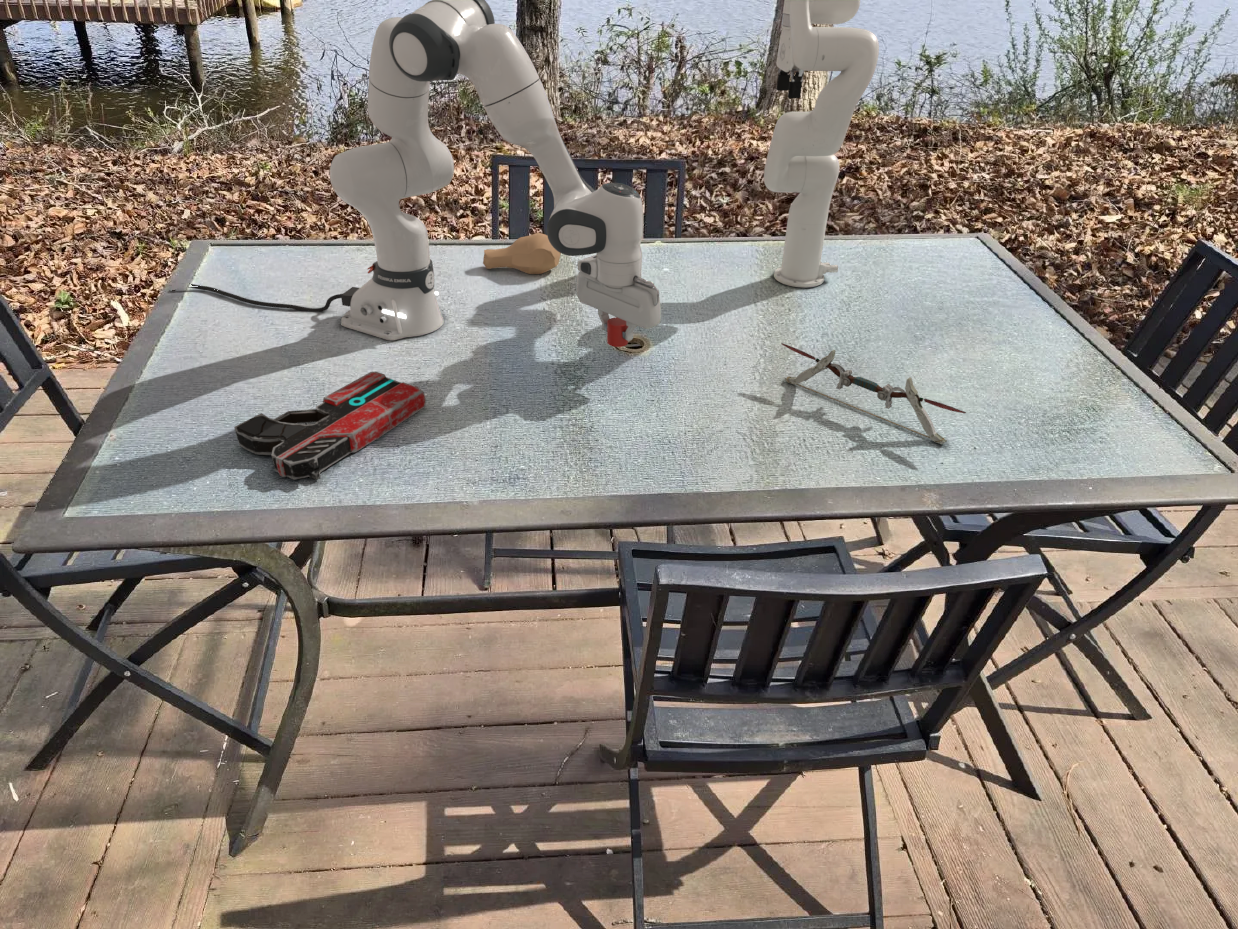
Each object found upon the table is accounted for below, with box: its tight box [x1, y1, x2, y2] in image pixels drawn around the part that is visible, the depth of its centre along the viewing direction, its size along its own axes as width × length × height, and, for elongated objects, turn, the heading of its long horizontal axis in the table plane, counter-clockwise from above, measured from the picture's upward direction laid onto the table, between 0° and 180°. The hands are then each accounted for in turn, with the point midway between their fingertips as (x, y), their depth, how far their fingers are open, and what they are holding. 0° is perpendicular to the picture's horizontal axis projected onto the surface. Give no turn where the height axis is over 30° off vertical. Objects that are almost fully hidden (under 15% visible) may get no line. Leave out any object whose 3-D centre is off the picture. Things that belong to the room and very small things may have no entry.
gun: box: [234, 371, 427, 481], centre depth 156 cm, size 4×31×19 cm
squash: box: [482, 232, 562, 275], centre depth 222 cm, size 11×20×9 cm, turn 90°
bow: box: [780, 342, 967, 445], centre depth 165 cm, size 39×2×10 cm, turn 47°
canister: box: [606, 316, 629, 348], centre depth 178 cm, size 4×4×5 cm
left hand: (617, 334), depth 178 cm, fingers closed on canister, 4 cm apart
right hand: (788, 93), depth 230 cm, fingers open, 9 cm apart
